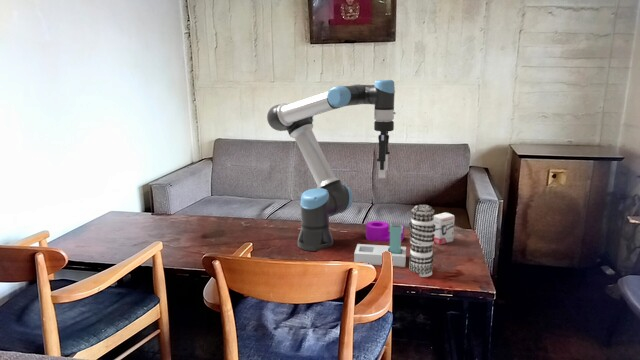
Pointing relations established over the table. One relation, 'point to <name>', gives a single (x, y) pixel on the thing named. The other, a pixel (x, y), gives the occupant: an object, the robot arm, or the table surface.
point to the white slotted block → (378, 254)
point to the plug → (395, 238)
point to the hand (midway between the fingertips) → (383, 174)
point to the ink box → (443, 228)
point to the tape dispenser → (379, 231)
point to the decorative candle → (422, 240)
